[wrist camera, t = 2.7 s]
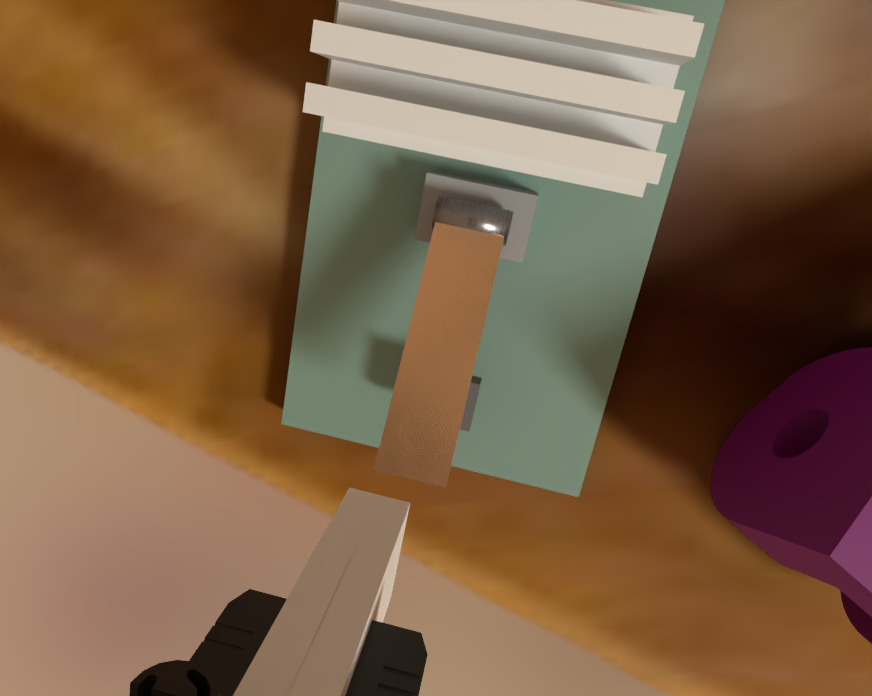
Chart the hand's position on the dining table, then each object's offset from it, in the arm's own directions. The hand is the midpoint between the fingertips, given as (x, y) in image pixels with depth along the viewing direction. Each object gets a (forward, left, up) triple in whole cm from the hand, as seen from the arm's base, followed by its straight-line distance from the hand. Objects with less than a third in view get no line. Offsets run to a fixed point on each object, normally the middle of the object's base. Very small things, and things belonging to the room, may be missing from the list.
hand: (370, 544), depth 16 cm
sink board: (-11, 0, -13) cm, 17 cm away
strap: (-3, 0, -8) cm, 9 cm away
